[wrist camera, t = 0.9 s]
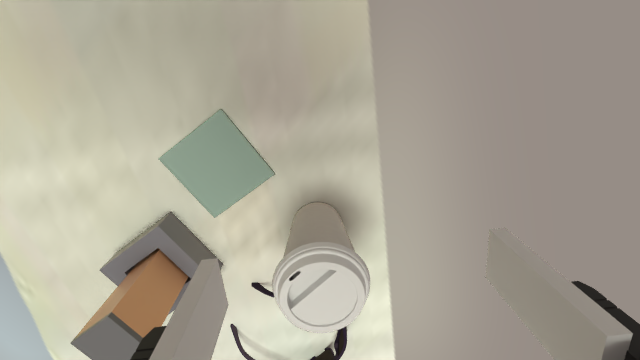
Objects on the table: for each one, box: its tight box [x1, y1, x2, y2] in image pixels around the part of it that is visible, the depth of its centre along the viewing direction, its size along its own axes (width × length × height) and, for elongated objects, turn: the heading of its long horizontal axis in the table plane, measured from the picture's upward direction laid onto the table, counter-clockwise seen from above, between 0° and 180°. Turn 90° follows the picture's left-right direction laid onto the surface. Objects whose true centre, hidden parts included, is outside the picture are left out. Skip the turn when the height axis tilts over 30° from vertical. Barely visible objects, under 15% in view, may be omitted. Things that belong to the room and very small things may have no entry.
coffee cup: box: [272, 202, 370, 333], centre depth 38 cm, size 10×10×15 cm
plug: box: [71, 248, 189, 360], centre depth 39 cm, size 5×5×15 cm
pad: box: [159, 109, 275, 218], centre depth 41 cm, size 10×10×1 cm
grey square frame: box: [100, 212, 223, 314], centre depth 44 cm, size 10×10×4 cm
